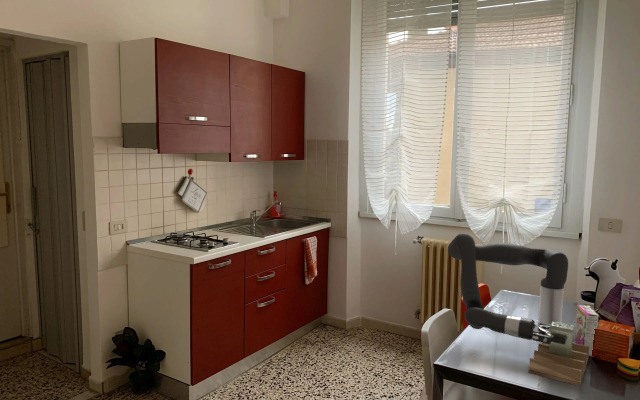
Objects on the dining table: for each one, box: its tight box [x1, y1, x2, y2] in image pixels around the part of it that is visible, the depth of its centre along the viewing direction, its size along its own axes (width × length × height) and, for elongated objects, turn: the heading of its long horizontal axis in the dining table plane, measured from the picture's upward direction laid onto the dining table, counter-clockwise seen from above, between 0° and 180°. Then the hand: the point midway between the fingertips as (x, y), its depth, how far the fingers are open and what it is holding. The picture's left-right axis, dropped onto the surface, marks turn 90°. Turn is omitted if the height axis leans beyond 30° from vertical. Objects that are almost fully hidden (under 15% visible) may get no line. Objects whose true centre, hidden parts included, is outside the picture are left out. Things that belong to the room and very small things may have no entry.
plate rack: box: [528, 342, 590, 387], centre depth 175 cm, size 25×16×5 cm, turn 146°
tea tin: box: [549, 321, 575, 359], centre depth 175 cm, size 5×7×14 cm
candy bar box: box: [573, 304, 600, 357], centre depth 188 cm, size 11×5×16 cm, turn 168°
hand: (567, 337), depth 173 cm, fingers open, 8 cm apart
